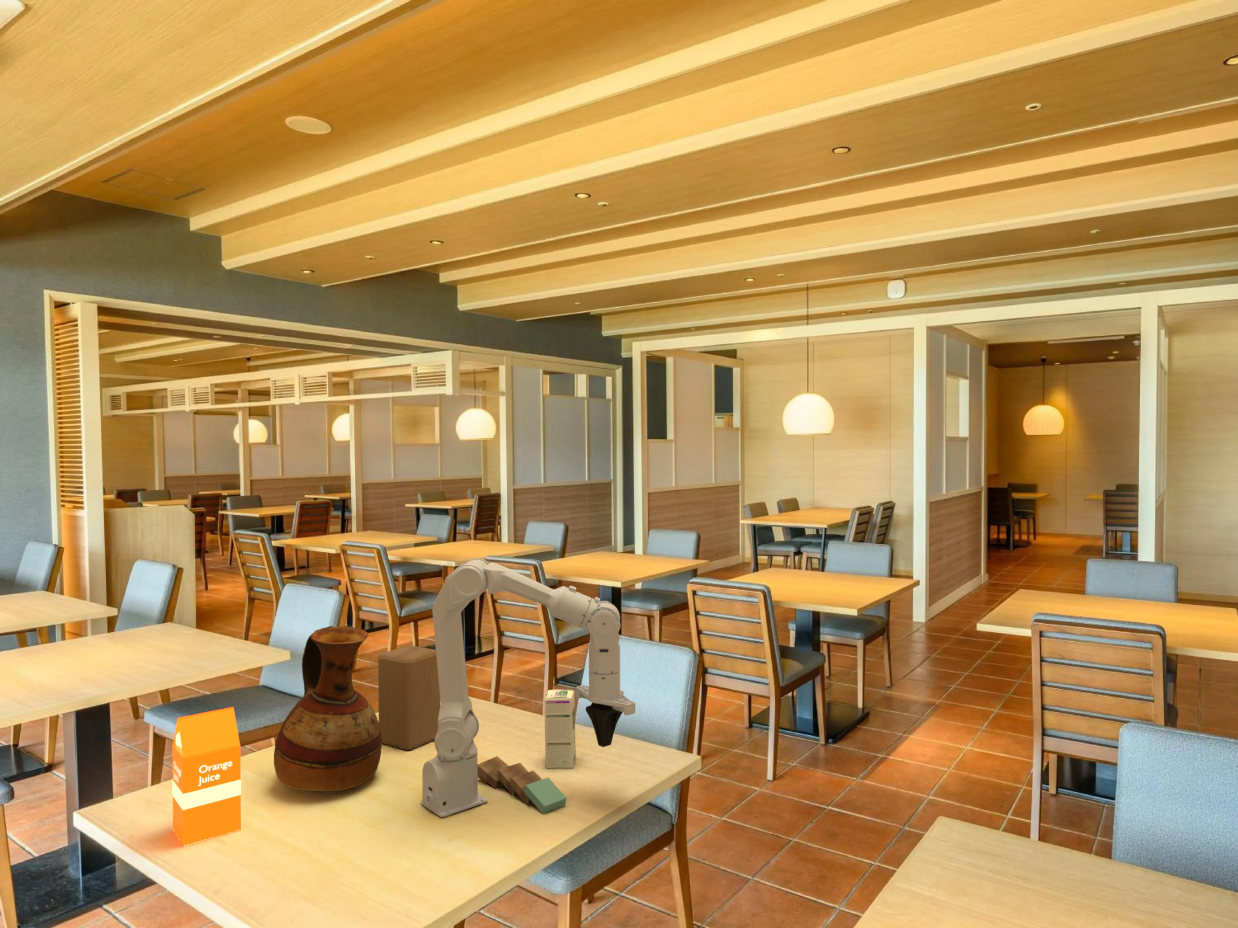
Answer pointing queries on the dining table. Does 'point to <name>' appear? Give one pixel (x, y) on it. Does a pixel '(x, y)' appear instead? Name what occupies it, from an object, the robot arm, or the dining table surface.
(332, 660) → the ceramic pitcher
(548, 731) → the syrup box
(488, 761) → the domino
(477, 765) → the robot arm
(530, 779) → the domino
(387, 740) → the wooden block
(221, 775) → the orange juice
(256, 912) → the dining table surface
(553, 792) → the green domino
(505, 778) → the domino
